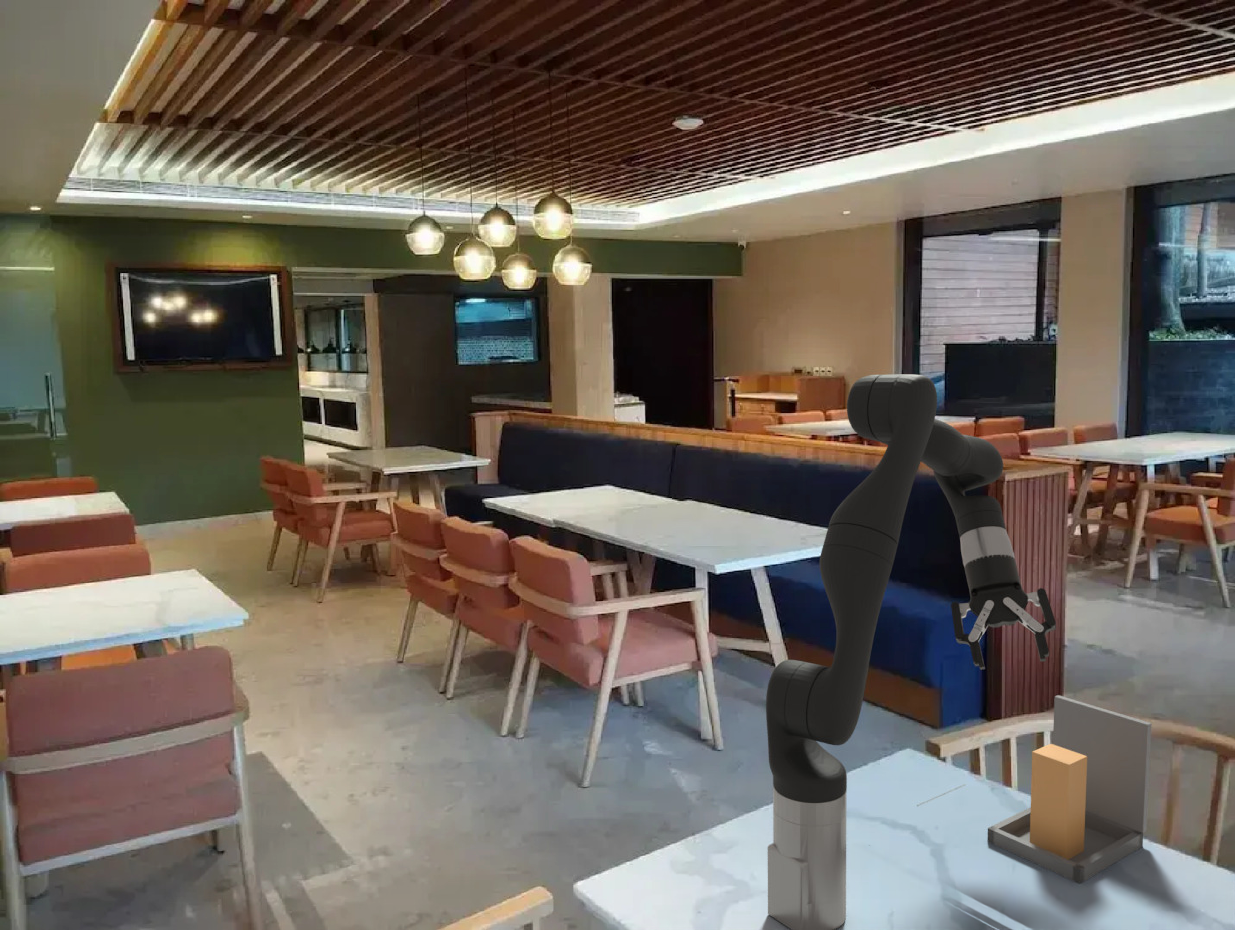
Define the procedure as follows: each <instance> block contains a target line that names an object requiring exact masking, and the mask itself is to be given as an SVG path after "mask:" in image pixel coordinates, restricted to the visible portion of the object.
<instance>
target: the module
mask: <svg viewBox="0 0 1235 930" xmlns="http://www.w3.org/2000/svg"><path fill="white" fill-rule="evenodd" d="M1031 755H1032V756H1031V783H1030V784H1031V786H1030V790H1031V791H1030V807H1031V813H1030V843H1032V844H1034V845H1036V846H1038V847H1041V848H1043V849H1045V850H1047V851H1050V852H1052V853H1054V854H1056V855H1059V856H1061V857H1063V858H1066V859H1068V860H1069V859H1070V858H1072V857H1074V856H1076V855H1077V854H1079V853H1081V852H1083V851H1084V830H1085V804H1086V778H1087V756H1085V755H1082V754H1079V753H1076V752H1073V751H1071V750H1068V749H1065V748H1062V747H1059V746H1056V745H1053V743H1049V744H1047V745H1045V746H1042V747H1040V748H1038V749H1036V750H1033V751H1031Z"/></svg>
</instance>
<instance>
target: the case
mask: <svg viewBox="0 0 1235 930" xmlns="http://www.w3.org/2000/svg"><path fill="white" fill-rule="evenodd" d="M1053 698H1054V700H1053V701H1054V702H1053V703H1054V704H1053V731H1052V732H1053V733H1052V735H1053V736H1052V744H1053V745H1056V746H1059V747H1062V748H1065V749H1068V750H1071V751H1073V752H1076V753H1079V754H1082V755H1085V756H1087V778H1086V804H1085V830H1084V851H1083V852H1081V853H1079V854H1077V855H1076V856H1074V857H1072V858H1070V859H1069V860H1068V859H1066V858H1063V857H1061V856H1059V855H1056V854H1054V853H1052V852H1050V851H1047V850H1045V849H1043V848H1041V847H1038V846H1036V845H1034V844H1032V843H1030V813H1031V806H1030V807H1028V808H1025V809H1024V810H1022V811H1020V812H1018V813H1016V814H1014V815H1012V816H1009V817H1008V818H1006V819H1004V820H1001V821H1000V822H998V823H995V824H994V825H991V826H989V827H988V828H987V843H990V844H992V845H994V846H996V847H998V848H1001V849H1003V850H1005V851H1007V852H1009V853H1011V854H1014V855H1016V856H1018V857H1021V858H1022V859H1025V860H1027V861H1030V862H1031V863H1034V864H1035V865H1038V866H1040V867H1042V868H1043V869H1044V868H1045V869H1046V870H1049V871H1051V872H1053V873H1055V874H1058V875H1060V876H1062V877H1064V878H1066V879H1069V880H1071V881H1073V882H1075V883H1077V884H1083V882H1085V881H1086V880H1088V879H1091V878H1092V877H1093V876H1095V875H1097V874H1099V873H1101V872H1102V871H1104V870H1106V869H1107V868H1109V867H1110V866H1112V865H1113V864H1116V863H1117V862H1118V861H1121V860H1122V859H1124V858H1126V857H1128V856H1129V855H1131V854H1133V853H1134V852H1136V851H1137V850H1139V849H1141V848H1142V847H1144V833H1146V832H1147V831H1148V830H1147V829H1148V810H1149V809H1148V808H1149V807H1148V806H1149V805H1148V804H1149V786H1150V785H1149V784H1150V783H1149V782H1150V768H1151V767H1150V766H1151V765H1150V763H1151V742H1152V741H1151V740H1152V723H1153V722H1149V721H1146V720H1142V719H1140V718H1136V717H1132V716H1129V715H1126V714H1122V713H1119V712H1116V711H1112V710H1109V709H1105V708H1102V707H1098V706H1097V705H1096V706H1095V705H1093V704H1089V703H1085V702H1083V701H1080V700H1079V701H1078V700H1076V699H1073V698H1069V697H1066V696H1063V695H1060V694H1058V695H1055V696H1054V697H1053Z"/></svg>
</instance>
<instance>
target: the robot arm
mask: <svg viewBox="0 0 1235 930" xmlns="http://www.w3.org/2000/svg"><path fill="white" fill-rule="evenodd" d="M937 393H938V392H937V388H936V386H935V383H934V382H933V380H932V379H930V378H929V377H928V376H926V375H922V374H909V373H908V374H906V373H905V374H901V373H899V374H894V373H893V374H871V375H866V376H862V377H860V378H859V379H857V380H856V381H855V382H854V383H853V384H852V386H851V387H850V389H849V392H848V397H847V401H846V402H847V403H846V412H847V418H848V419H847V420H848V422H849V424H850V426H851V428H852V430H853V431H854V433H855V434H857V435H858V436H860V437H861V438H864V439H868V440H870V441H871V440H872V441H875V442H879V443H881V444H884V445H887V447H886V449H885V452H884V454H883V456H882V457H881V460H880V461H879V462H878V464H877V466H876V467H875V468H874V469H873V471H871V473H869V475H868V476H866V477H865V479H863V481H861V483H860V484H858V486H856V488H854V489H853V490H852V491H851V492H850V493H849V494H848V495H847V496H846V497H845V499H843V500H842V502H841V503H840V504H839V506H837V508H836V510H835V511H834V512H833V514H832V516H831V517H830V521H829V524H828V526H827V531H826V534H825V537H824V541H823V545H822V548H821V552H820V556H819V563H818V564H819V572H820V575H821V581H822V583H823V587H824V589H825V593H826V595H827V599H828V602H829V604H830V607H831V611H832V613H833V618H834V622H835V628H836V629H835V630H836V631H835V632H836V638H835V639H836V641H835V649H834V656H833V660H832V664H831V666H826V665H821V664H816V663H811V662H807V661H802V660H796V659H785V660H783V661H781V662H780V663H778V664H777V666H775V668H774V669H773V671H772V673H771V675H770V677H769V681H768V683H767V689H766V695H765V696H766V697H765V712H766V713H765V715H766V730H767V731H766V733H767V747H768V749H767V751H768V765H769V768H770V771H771V774H772V785H773V786H772V787H773V788H772V799H773V801H772V808H773V809H772V815H773V816H772V819H773V820H772V821H773V822H772V823H773V824H772V827H773V828H772V829H773V830H772V831H773V834H772V836H773V837H772V838H773V839H772V841H773V842H772V843H770V844H768V846H767V914H768V915H769V916H771V917H772V918H773V919H775V920H777V921H778V922H779V923H781V924H783V926H786V927H787V928H789V929H790V930H836V929H838V928H840V927H841V926H842V925H843V924H844V922H845V921H846V917H847V799H848V798H847V790H848V789H847V788H848V787H847V786H848V784H847V782H848V781H847V780H848V778H847V776H848V775H847V770H846V767H845V766H844V765H843V763H842V762H841V761H840V760H839V759H838V758H837V757H836V756H834V755H833V754H831V753H830V752H828V750H826V749H825V748H823V746H822V745H820V744H819V743H822V744H827V745H831V746H837V747H838V746H842V745H844V744H846V742H848V741H849V740H850V739H851V737H852V736H853V734H854V731H856V728H857V725H858V721H859V719H860V714H861V710H862V707H863V703H864V695H865V690H866V684H867V683H866V682H867V678H868V672H869V665H870V661H871V653H872V648H873V643H874V639H875V638H874V637H875V633H876V628H877V624H878V619H879V616H880V611H881V608H882V604H883V599H884V596H885V592H886V589H887V586H888V582H889V579H890V575H891V573H892V569H893V565H894V561H895V557H896V555H897V554H896V553H897V549H898V546H899V542H900V536H901V531H902V527H903V522H904V519H905V514H906V510H907V506H908V502H909V498H910V495H911V492H912V488H913V485H914V482H915V479H916V475H917V473H918V470H919V467H920V464H921V463H922V464H924V465H925V466H927V467H928V468H929V469H931V470H932V471H933V475H934V477H935V480H936V482H937V484H938V486H939V487H940V489H941V490H942V492H943V494H944V496H945V497H946V499H947V501H948V503H949V505H950V507H951V509H952V510H951V511H952V513H953V515H954V517H955V523H956V526H957V527H956V528H957V531H958V535H959V536H958V537H959V540H960V552H961V558H962V565H963V567H964V573H965V576H966V582H967V586H968V589H969V590H968V591H969V596H970V600H969V601H968V602H964V603H963V602H962V603H959V602H957V601H953V602H952V603H951V604H950V609H951V615H952V616H951V617H952V623H953V630H954V631H953V632H954V636H955V640H956V642H957V643H958V644H960V645H961V644H965V645H968V646H969V648H970V653H971V657H972V662H973V665H974V666H975V667H979V670H985V669H986V667H985V663H984V658H983V654H982V649H981V648H982V647H981V645H980V640H981V638H982V637H983V635H984V634H985V632H986V631H987V629H988V627H991V628H993V629H995V628H1000V627H1002V626H1015V624H1016V623H1018V622H1019V624H1021V625H1023V626H1024V627H1025V628H1026V629H1028V630H1030V631H1031V633H1034V634H1033V635H1034V639H1035V643H1036V649H1037V651H1038V656H1039V661H1040V662H1046V661H1047V660H1046V658H1048V657H1049V656H1050V655H1049V654H1050V650H1049V646H1048V642H1047V639H1046V638H1047V637H1046V635H1047V634H1048V633H1049V632H1053V631H1055V630H1056V628H1057V625H1056V623H1057V622H1056V618H1055V616H1054V612H1053V610H1052V607H1051V606H1052V605H1051V604H1050V600H1049V597H1048V595H1047V591H1046V589H1045V588H1043V587H1040V588H1038V589H1037V591H1033V592H1027V593H1026V592H1025V591H1024V589H1023V587H1022V584H1021V579H1020V575H1019V574H1020V573H1019V571H1018V565H1017V562H1016V557H1015V553H1014V549H1013V545H1012V542H1011V539H1010V537H1009V535H1008V532H1007V527H1006V523H1005V520H1004V516H1003V511H1002V506H1001V504H1000V502H999V501H998V499H997V498H996V497H994V496H992V495H991V496H990V495H966V494H965V493H966V492H967V491H971V490H973V489H976V488H979V487H984V486H986V485H990V484H993V483H994V482H996V481H997V480H998V479H999V478H1000V477H1001V475H1002V474H1003V470H1004V461H1003V457H1002V456H1001V453H1000V452H999V450H998V449H997V447H996V446H995V445H993V444H992V443H991V442H990V441H988V440H986V439H984V438H981V437H977V436H972V435H967V434H962V433H961V432H960V431H959V430H958V429H956V428H955V427H954V426H952V425H950V424H949V423H947V422H945V421H942V420H939V419H937V418H936V413H937V407H938V395H937ZM1029 602H1032V603H1033V604H1034V606H1036V607H1039V608H1040V609H1041V612H1042V615H1043V619H1044V622H1042V623H1040V622H1038V621H1037V620H1036V619H1035V618H1033V616H1032V615H1031V614H1030V613H1028V612H1027V611H1026V610H1025V609H1026V607H1027V606H1028V604H1029ZM969 611H971V613H972V614H974V615H975V616H976V617H977V618H976V621H975V622H974V625H973V628H972V629H971V631H970V633H965V630H964V625H963V619H964V618H966V617H967V614H968V612H969Z"/></svg>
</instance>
